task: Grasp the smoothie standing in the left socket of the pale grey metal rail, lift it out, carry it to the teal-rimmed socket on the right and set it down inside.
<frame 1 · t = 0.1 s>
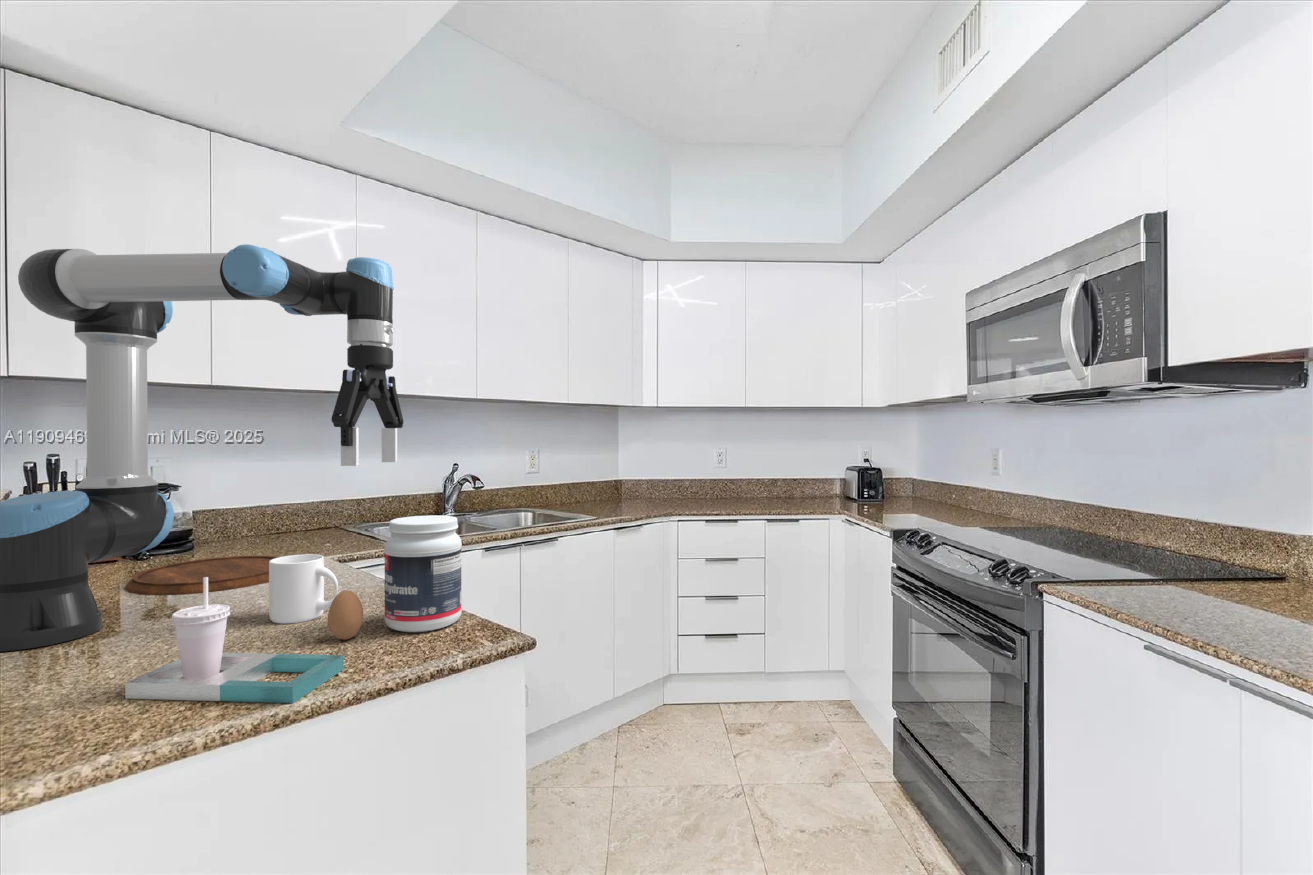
hand: (370, 464, 111), 28 cm above the counter, fingers open, 13 cm apart
smoothie: (201, 683, 83), resting in rail
egg: (345, 640, 100), on the counter
supplement tub: (424, 624, 108), on the counter
mug: (306, 618, 112), on the counter
cutting board: (215, 579, 143), on the counter
rail: (240, 683, 82), on the counter
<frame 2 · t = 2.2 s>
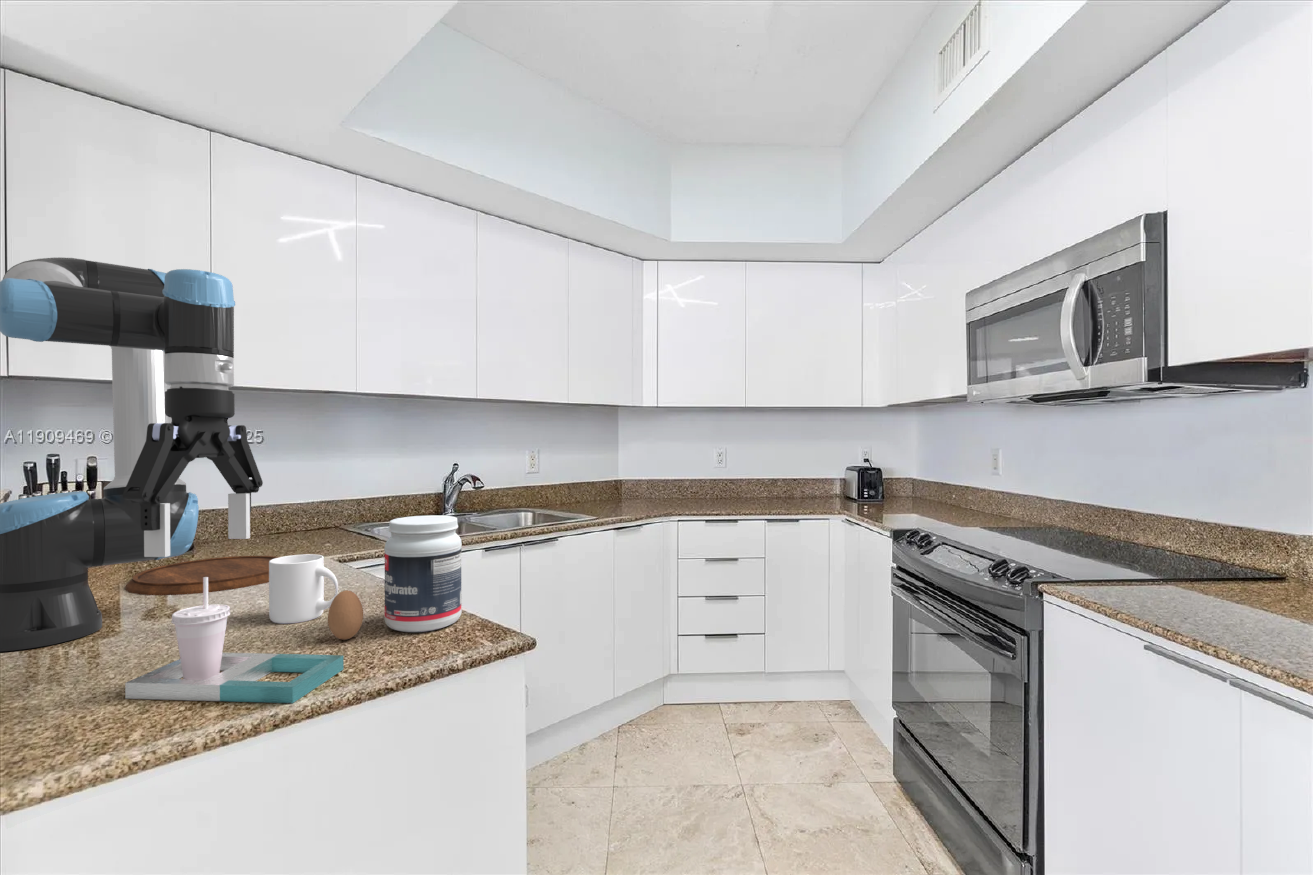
hand: (201, 547, 82), 18 cm above the counter, fingers open, 13 cm apart
nothing on the counter moved.
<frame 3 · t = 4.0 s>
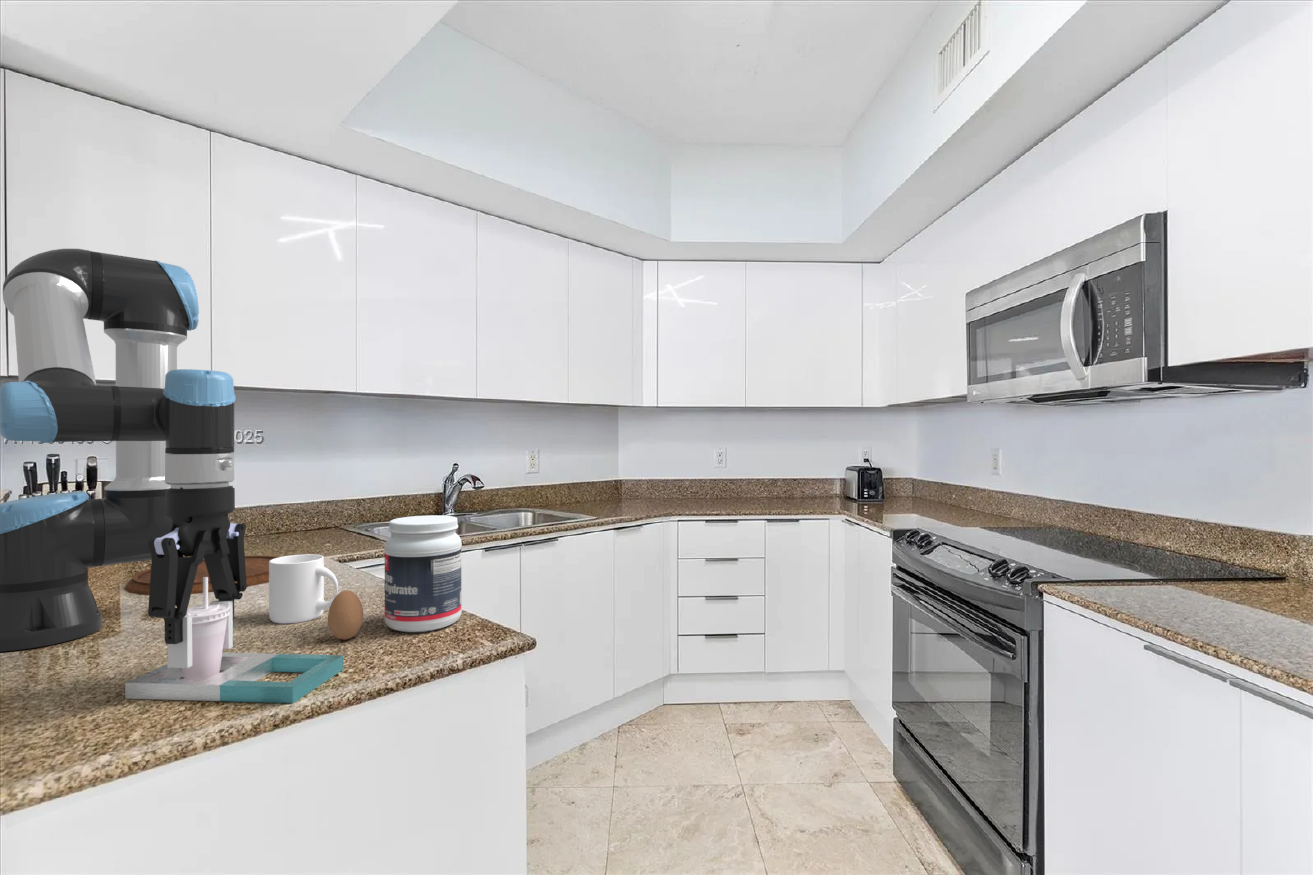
hand: (201, 656, 83), 3 cm above the counter, fingers closed on smoothie, 6 cm apart
smoothie: (201, 683, 83), resting in rail, touching gripper
everything else where it was.
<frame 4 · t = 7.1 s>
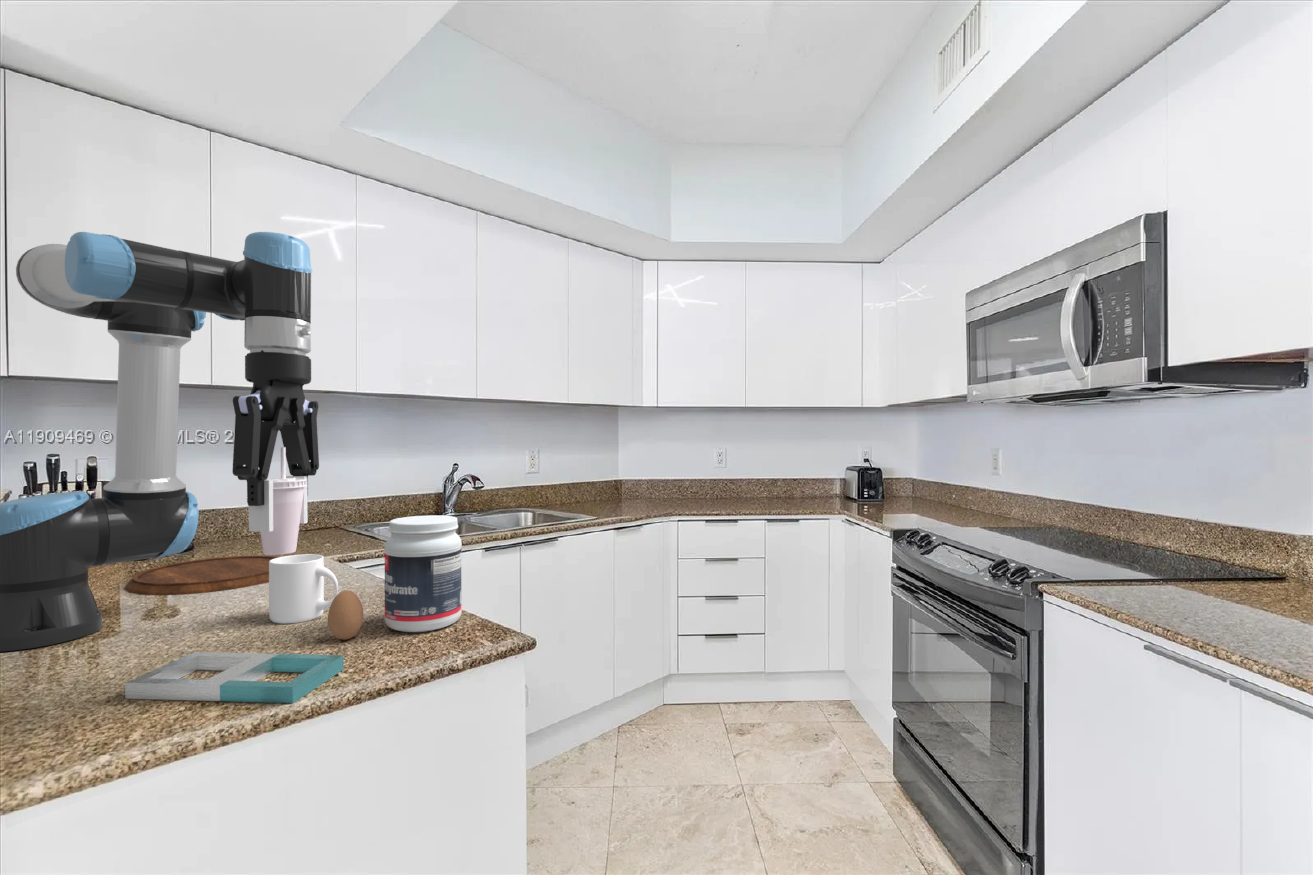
hand: (279, 526, 82), 21 cm above the counter, fingers closed on smoothie, 6 cm apart
smoothie: (279, 553, 82), point 17 cm above the counter, touching gripper
everything else where it was.
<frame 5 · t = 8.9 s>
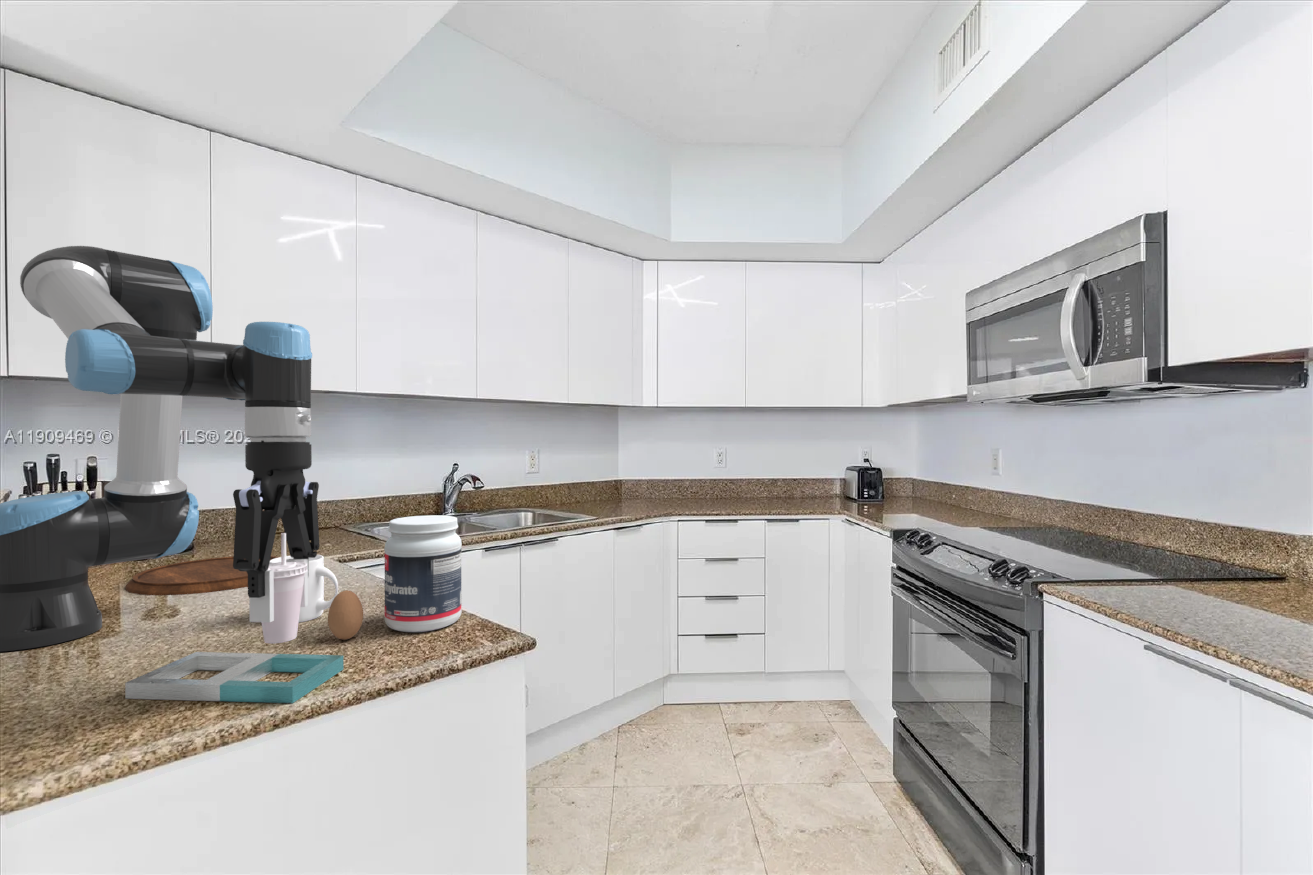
hand: (280, 613, 82), 10 cm above the counter, fingers closed on smoothie, 6 cm apart
smoothie: (280, 640, 82), point 6 cm above the counter, touching gripper
everything else where it was.
when the fingers open (5 cm above the counter, at t = 10.3 s): smoothie drops 1 cm, resting in rail.
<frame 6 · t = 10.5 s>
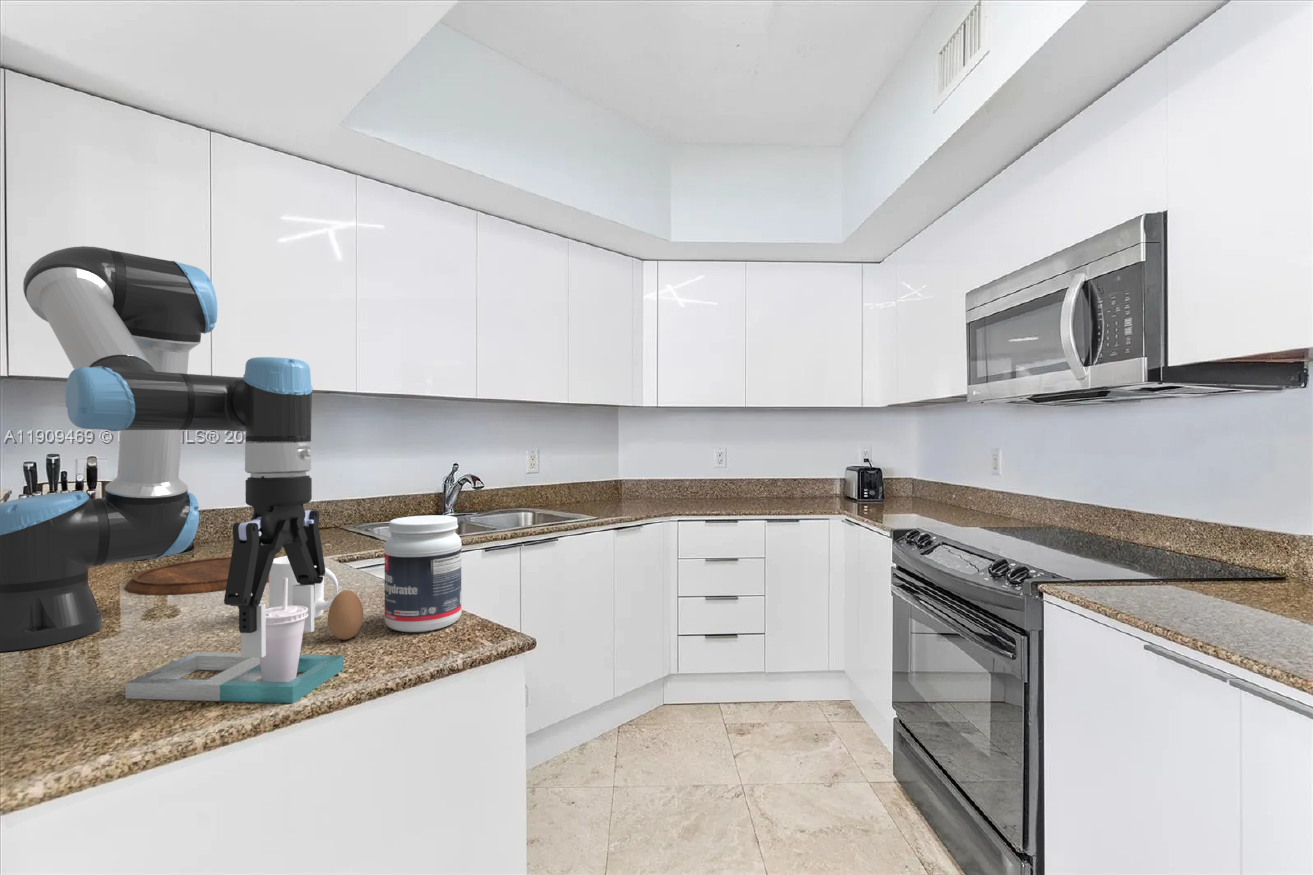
hand: (279, 643, 82), 5 cm above the counter, fingers open, 9 cm apart
smoothie: (279, 685, 82), resting in rail
everything else where it was.
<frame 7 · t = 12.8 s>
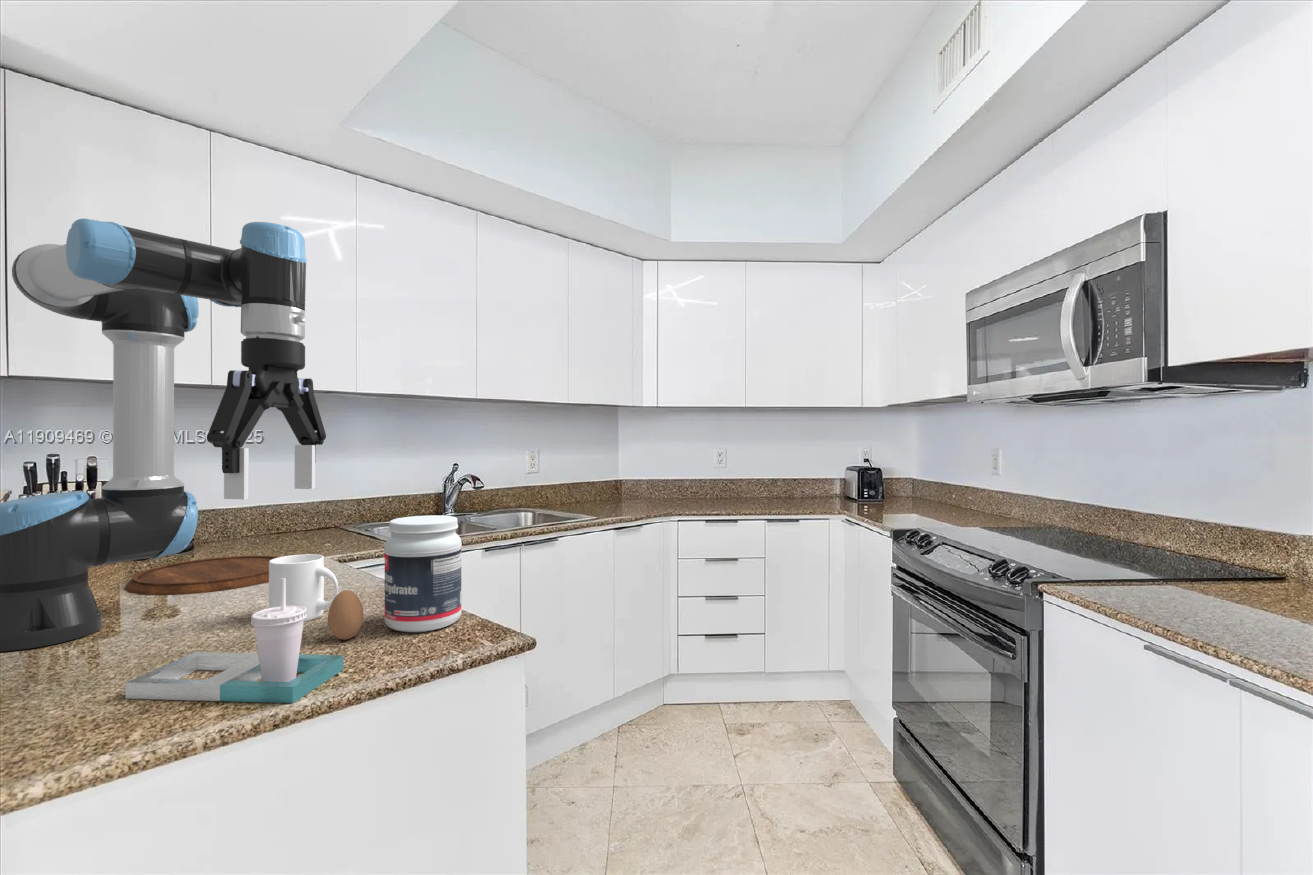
hand: (273, 493, 85), 25 cm above the counter, fingers open, 13 cm apart
nothing on the counter moved.
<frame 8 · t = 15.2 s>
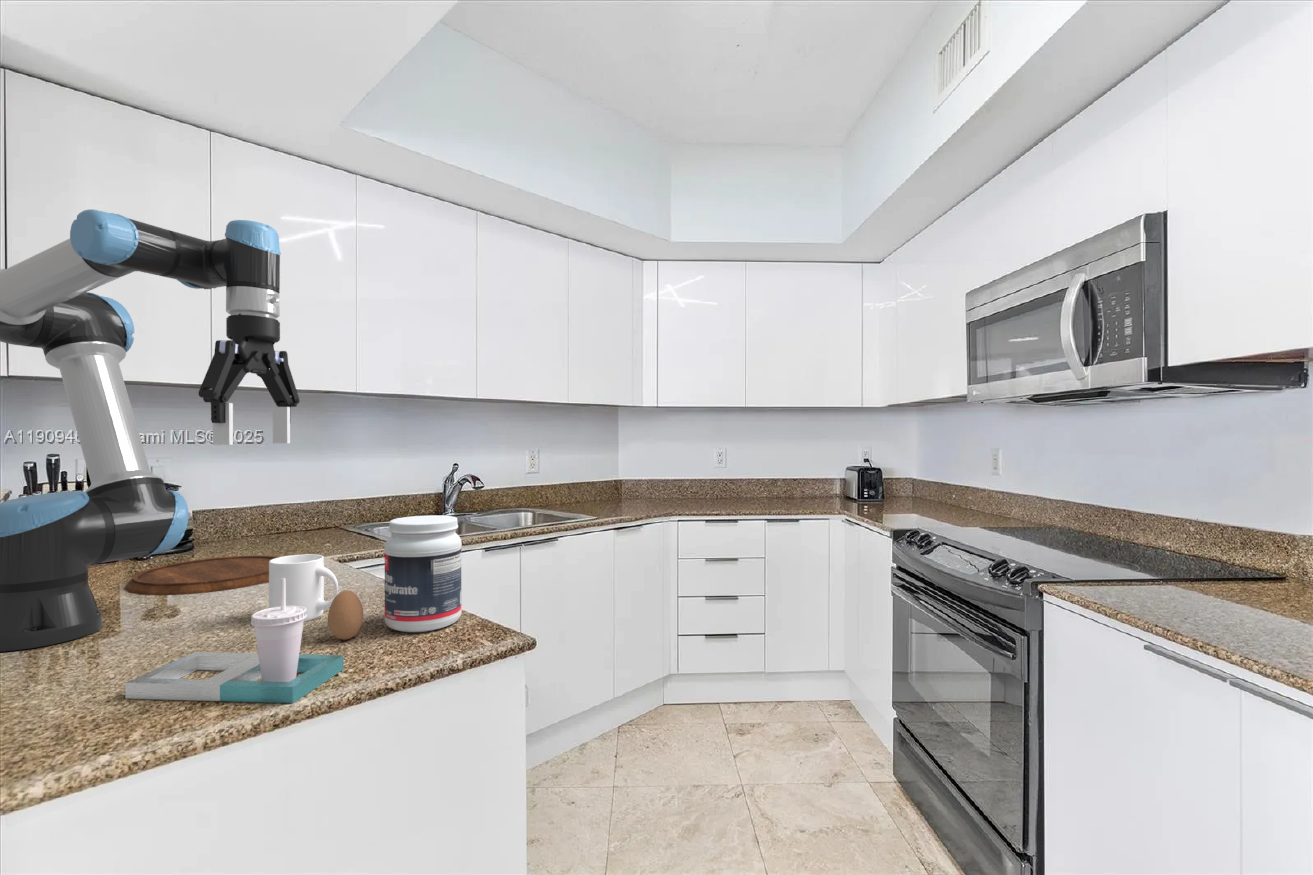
hand: (254, 444, 103), 32 cm above the counter, fingers open, 13 cm apart
nothing on the counter moved.
at the end: smoothie 0.1 cm from the target spot on the rail, point 0.0 cm above the rail's base; smoothie tilted 0°; the gripper is holding nothing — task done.
